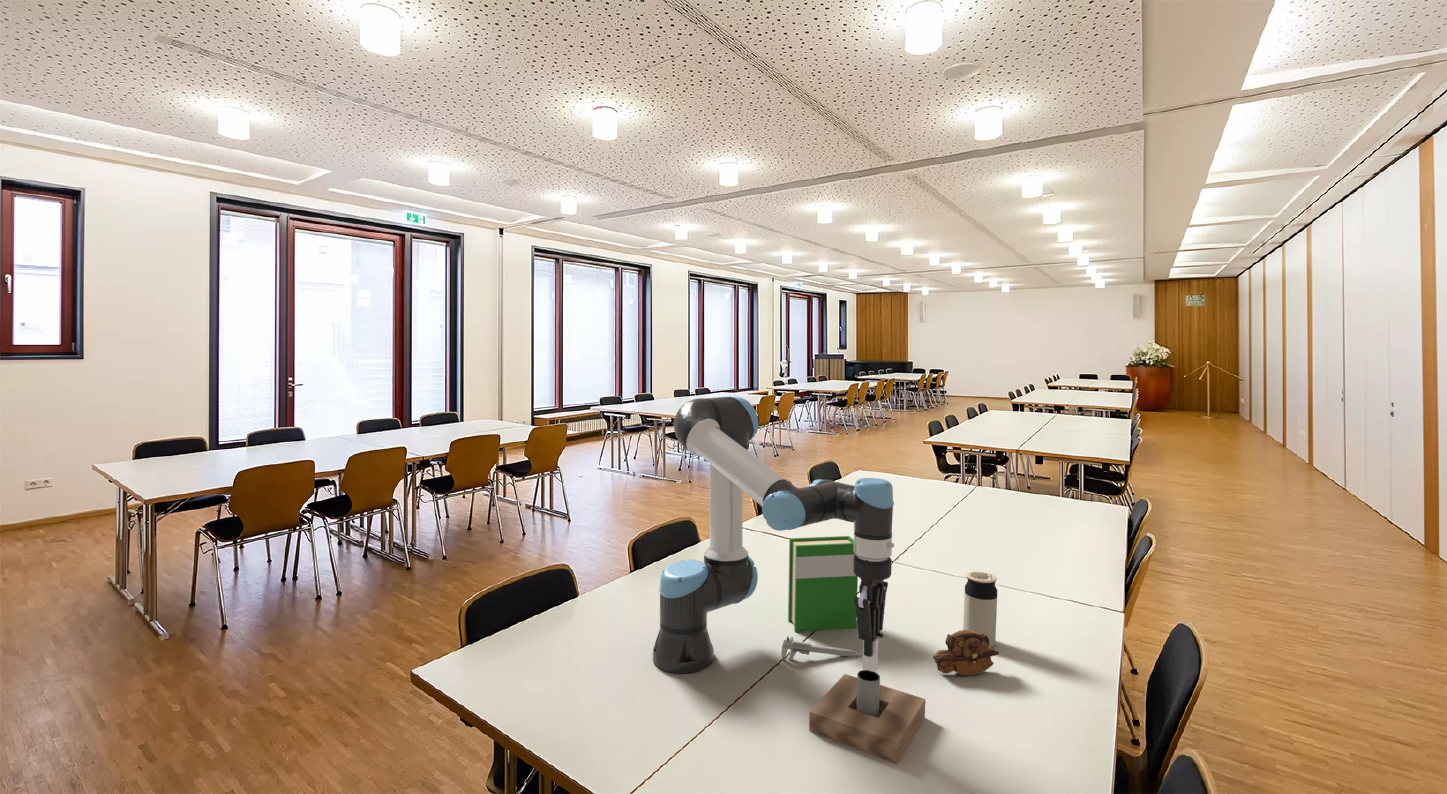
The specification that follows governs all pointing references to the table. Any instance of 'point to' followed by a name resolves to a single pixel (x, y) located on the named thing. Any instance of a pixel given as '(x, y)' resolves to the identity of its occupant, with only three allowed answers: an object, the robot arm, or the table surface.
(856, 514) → the robot arm
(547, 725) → the table surface
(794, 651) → the caliper
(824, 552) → the hardback book
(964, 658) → the wooden carving
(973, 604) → the travel mug
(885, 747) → the socket board
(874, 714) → the grey metal tube
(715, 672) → the table surface
